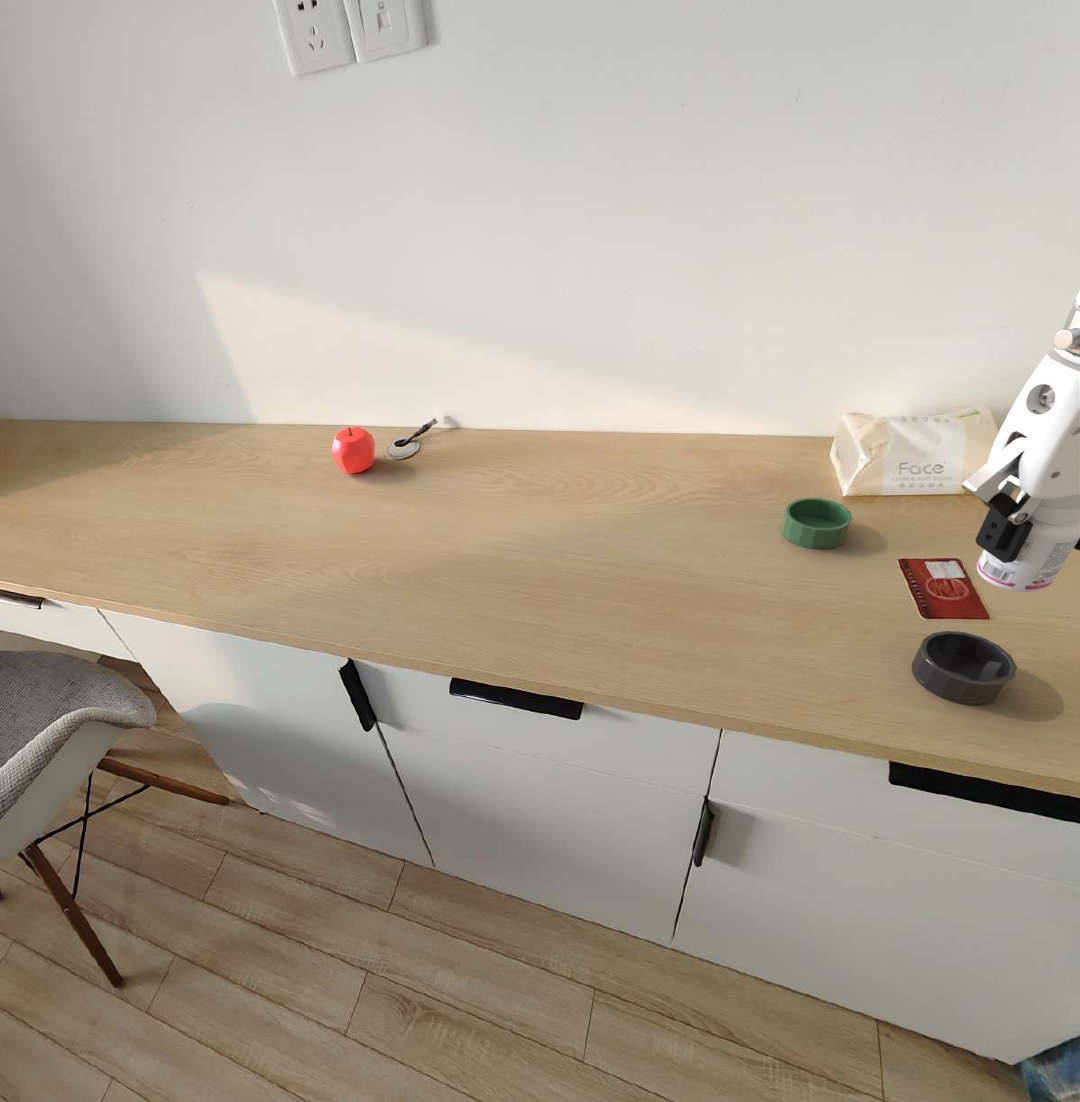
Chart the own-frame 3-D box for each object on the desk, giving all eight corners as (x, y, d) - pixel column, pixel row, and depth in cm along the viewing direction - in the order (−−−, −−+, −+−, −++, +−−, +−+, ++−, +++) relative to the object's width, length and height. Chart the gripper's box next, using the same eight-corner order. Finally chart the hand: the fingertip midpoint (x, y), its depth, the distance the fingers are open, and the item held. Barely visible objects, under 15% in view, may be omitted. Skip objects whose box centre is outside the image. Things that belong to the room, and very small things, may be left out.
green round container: (852, 525, 83) (858, 506, 81) (836, 555, 79) (843, 536, 77) (790, 511, 87) (795, 492, 85) (773, 539, 84) (778, 520, 82)
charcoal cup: (1008, 669, 64) (1021, 648, 62) (996, 717, 60) (1010, 696, 58) (919, 642, 68) (929, 621, 66) (904, 685, 64) (914, 665, 63)
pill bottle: (1042, 561, 57) (1092, 481, 51) (1056, 598, 54) (1111, 516, 48) (970, 553, 59) (1010, 475, 54) (979, 588, 56) (1024, 509, 51)
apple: (384, 470, 116) (376, 430, 111) (341, 483, 115) (331, 443, 110) (372, 451, 122) (365, 412, 117) (331, 463, 121) (322, 424, 117)
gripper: (1057, 378, 41) (956, 594, 52) (1357, 320, 40) (1189, 554, 50) (962, 339, 47) (889, 539, 58) (1219, 287, 46) (1096, 502, 56)
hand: (1030, 544), depth 54 cm, fingers closed on pill bottle, 4 cm apart
